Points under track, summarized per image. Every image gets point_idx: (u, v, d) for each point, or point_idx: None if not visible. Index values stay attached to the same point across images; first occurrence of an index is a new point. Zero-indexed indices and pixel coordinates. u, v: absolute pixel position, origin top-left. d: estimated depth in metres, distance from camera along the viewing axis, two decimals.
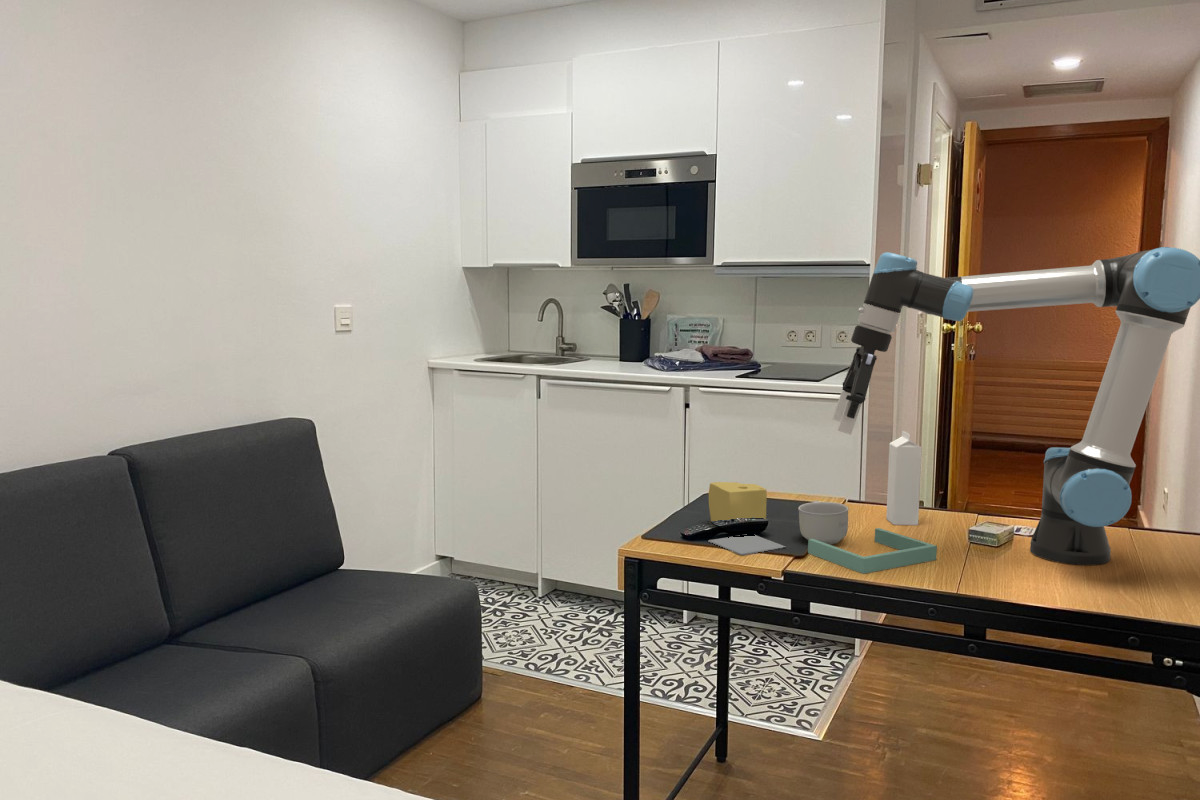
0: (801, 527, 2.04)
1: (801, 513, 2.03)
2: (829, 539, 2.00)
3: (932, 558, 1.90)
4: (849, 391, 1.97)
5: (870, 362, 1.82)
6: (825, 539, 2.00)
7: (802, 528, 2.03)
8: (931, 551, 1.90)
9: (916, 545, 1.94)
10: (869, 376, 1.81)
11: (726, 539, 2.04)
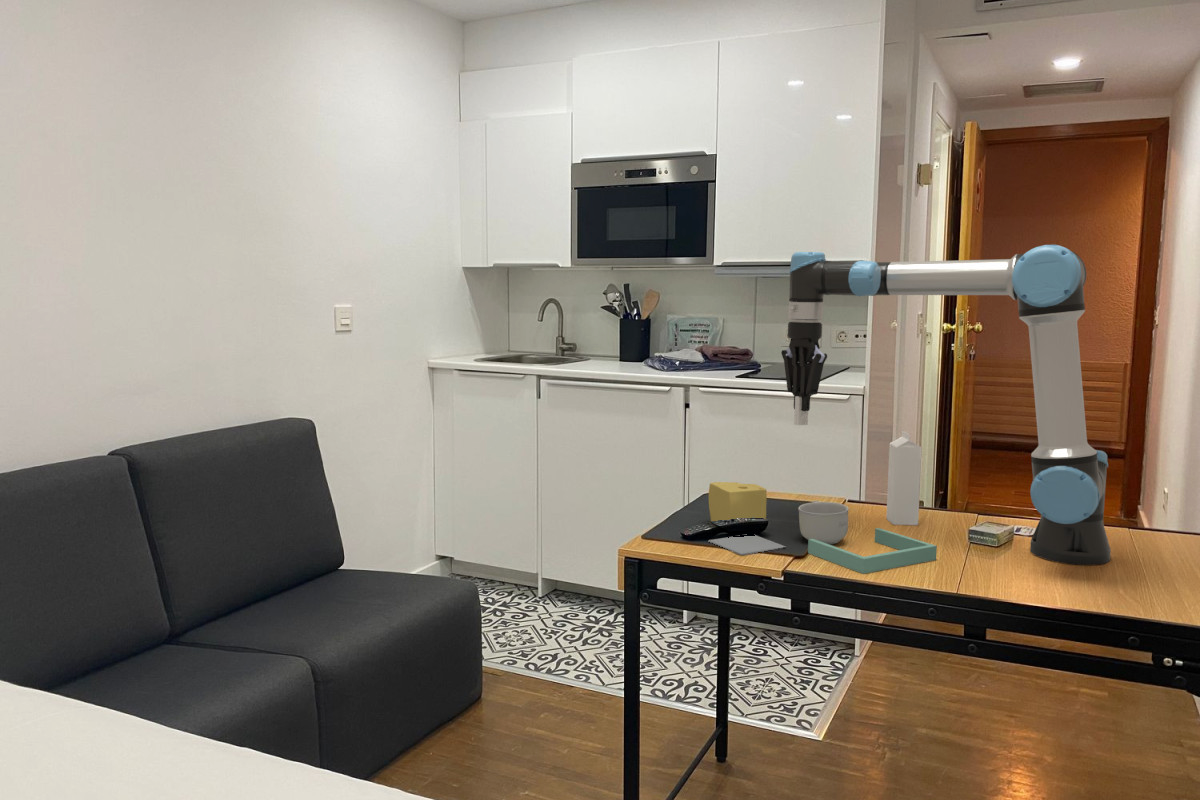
0: (801, 527, 2.04)
1: (801, 513, 2.03)
2: (829, 539, 2.00)
3: (932, 558, 1.90)
4: None
5: (822, 361, 2.04)
6: (825, 539, 2.00)
7: (802, 528, 2.03)
8: (931, 551, 1.90)
9: (916, 545, 1.94)
10: (820, 373, 2.05)
11: (726, 539, 2.04)
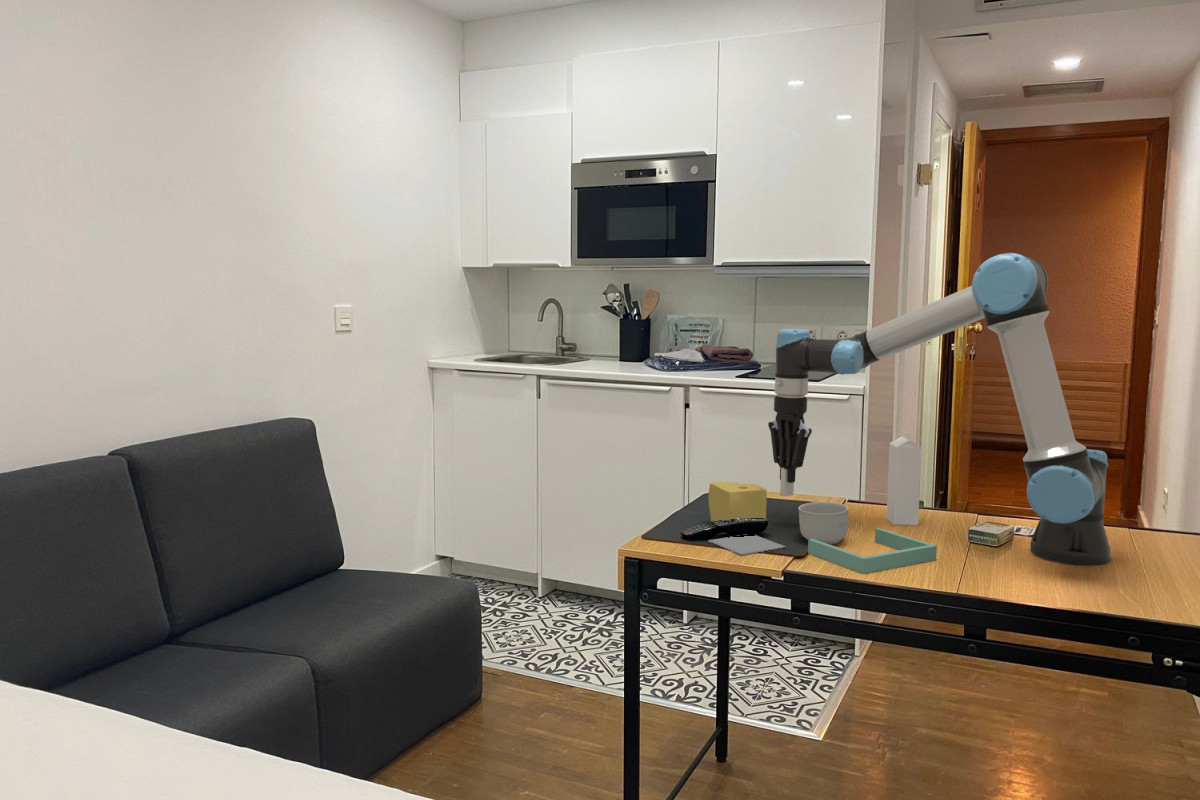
0: (801, 527, 2.04)
1: (801, 513, 2.03)
2: (829, 539, 2.00)
3: (932, 558, 1.90)
4: None
5: (806, 436, 2.10)
6: (825, 539, 2.00)
7: (802, 528, 2.03)
8: (931, 551, 1.90)
9: (916, 545, 1.94)
10: (805, 446, 2.11)
11: (726, 539, 2.04)
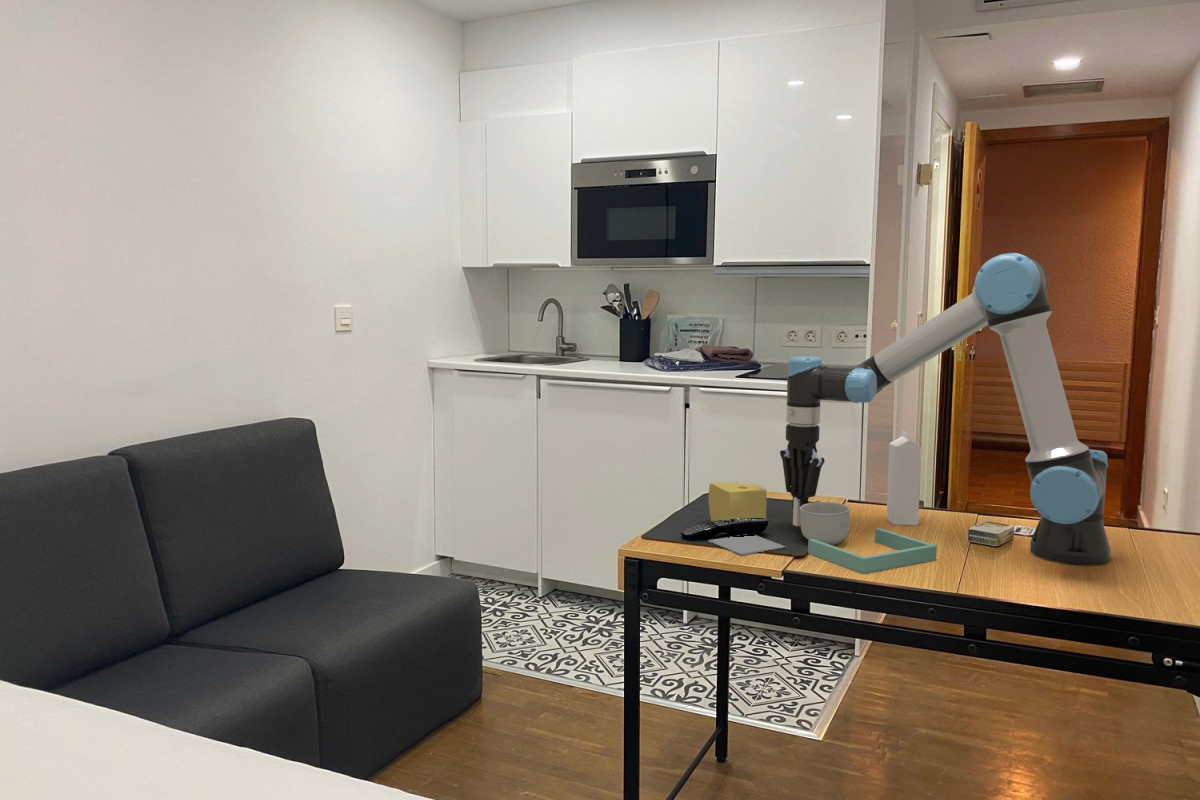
0: (802, 527, 2.03)
1: (802, 513, 2.02)
2: (830, 539, 2.00)
3: (932, 558, 1.90)
4: None
5: (819, 465, 2.06)
6: (826, 539, 2.00)
7: (803, 528, 2.03)
8: (931, 551, 1.90)
9: (916, 545, 1.94)
10: (818, 476, 2.08)
11: (726, 539, 2.04)
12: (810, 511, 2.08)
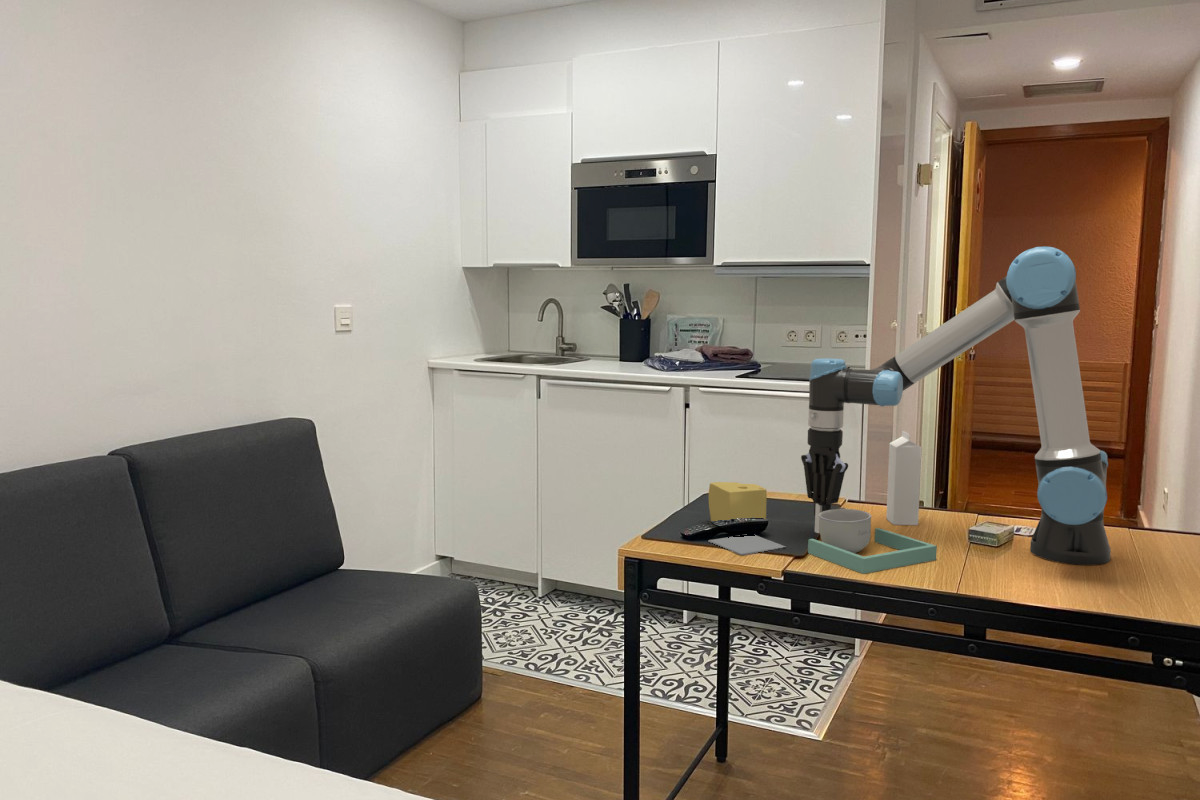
0: (821, 534, 1.98)
1: (820, 519, 1.97)
2: (848, 547, 1.93)
3: (932, 558, 1.90)
4: None
5: (843, 471, 2.00)
6: (843, 547, 1.93)
7: (821, 535, 1.97)
8: (931, 551, 1.90)
9: (916, 545, 1.94)
10: (841, 482, 2.01)
11: (726, 539, 2.04)
12: (832, 518, 2.02)
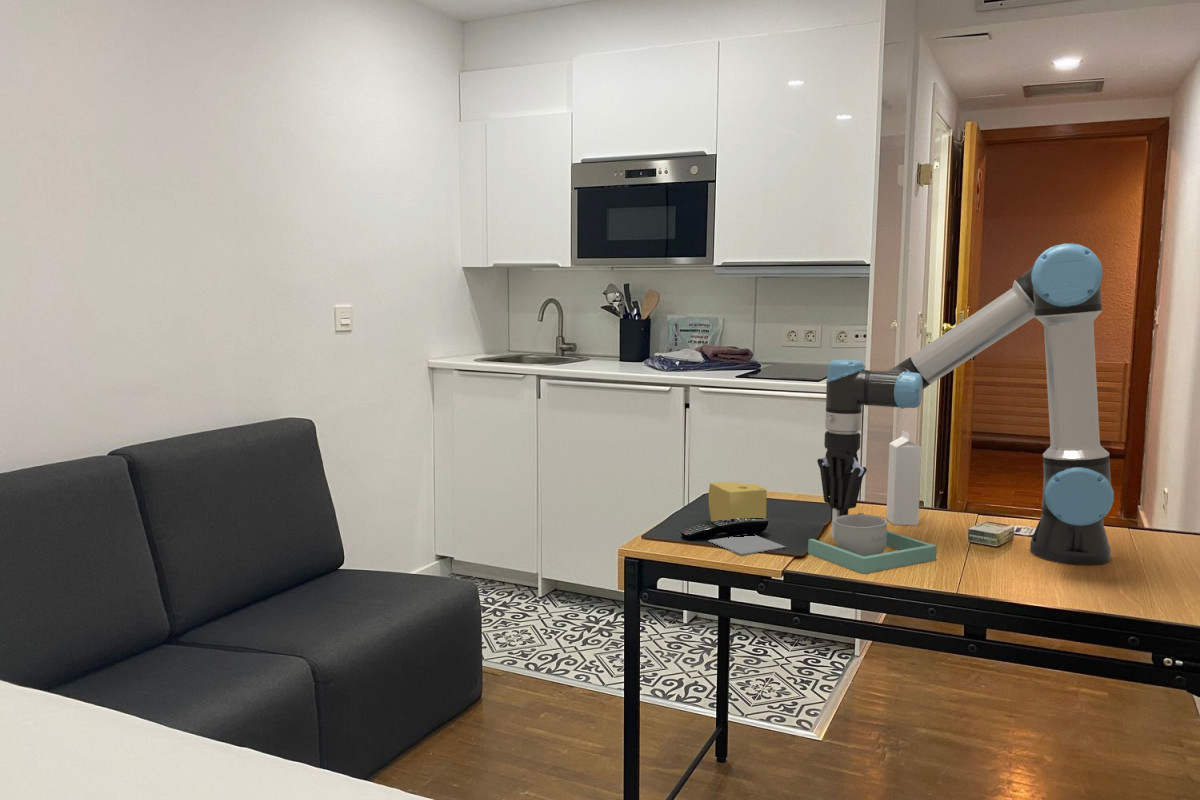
0: (835, 539, 1.94)
1: (834, 524, 1.93)
2: (860, 554, 1.89)
3: (932, 558, 1.90)
4: None
5: (861, 475, 1.95)
6: None
7: (835, 540, 1.93)
8: (931, 551, 1.90)
9: (916, 545, 1.94)
10: (859, 486, 1.97)
11: (726, 539, 2.04)
12: (849, 523, 1.97)
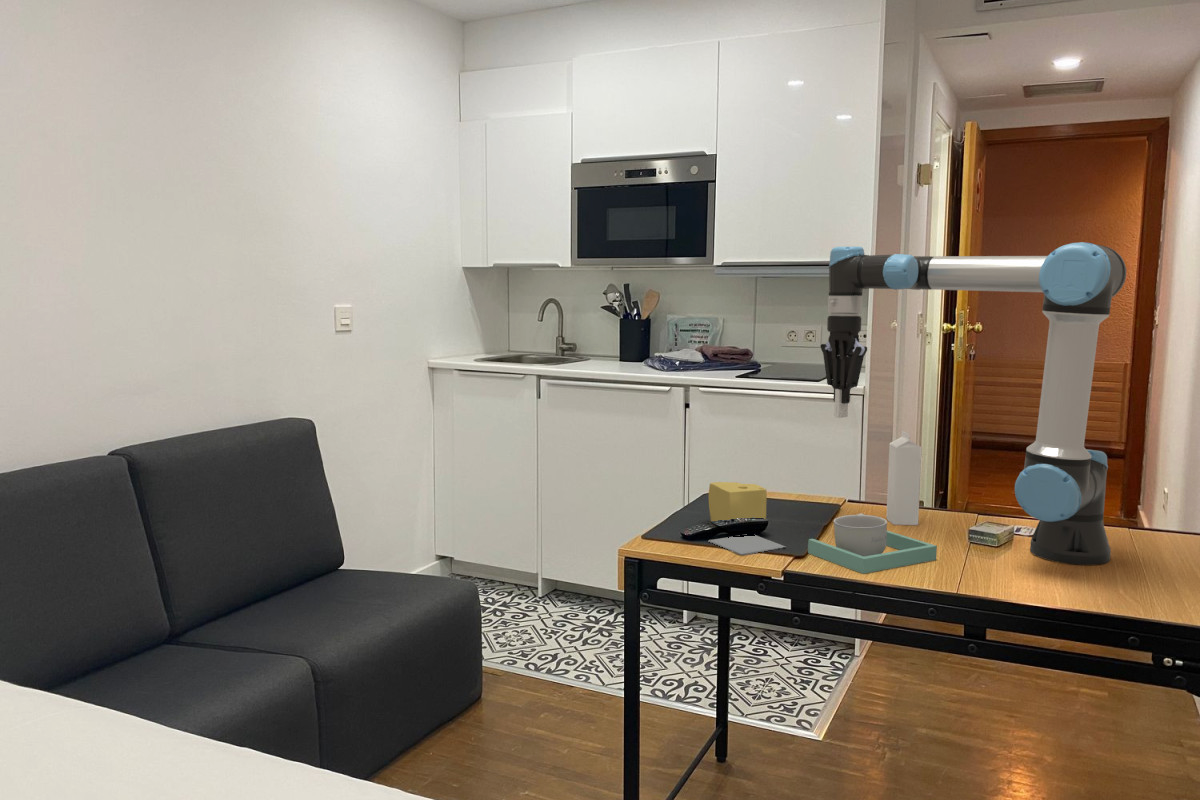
0: (835, 540, 1.93)
1: (834, 525, 1.93)
2: (860, 554, 1.88)
3: (932, 558, 1.90)
4: None
5: (862, 354, 2.07)
6: None
7: (835, 541, 1.93)
8: (931, 551, 1.90)
9: (916, 545, 1.94)
10: (860, 365, 2.08)
11: (726, 539, 2.04)
12: (849, 524, 1.97)
